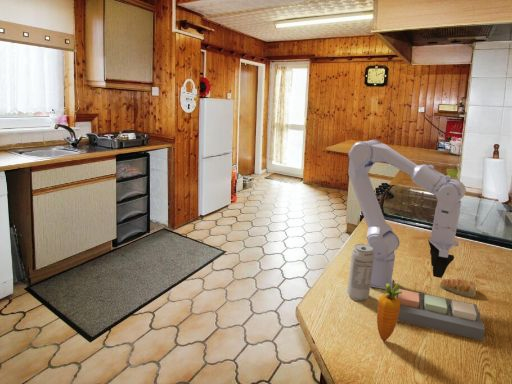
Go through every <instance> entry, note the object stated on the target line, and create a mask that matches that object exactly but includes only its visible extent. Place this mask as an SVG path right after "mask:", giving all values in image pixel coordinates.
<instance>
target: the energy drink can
mask: <svg viewBox="0 0 512 384" xmlns="http://www.w3.org/2000/svg"><path fill="white" fill-rule="evenodd" d="M373 261H374V253H373V248H372V247H371V246H369V245H368V244H364V243H357V244H355V245H354V247H353V249H352V250H351V255H350V265H349V273H348V283H347V290H346V291H347V294H348V295H349V296H348V297H349V298H350V299H352V300H355V301H360V302H361V301H366V300H367V298H369V295H370V290H371V286H370V284H371V276H372V269H373Z"/></svg>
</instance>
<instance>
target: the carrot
mask: <svg viewBox="0 0 512 384" xmlns="http://www.w3.org/2000/svg"><path fill="white" fill-rule="evenodd" d="M393 287H394V290H393V291H392V290H391V288H390V285H389V284H386V289H385V292H386V293H385V294H382V295H379V297H378V303H377V313H376V314H377V315H376V323H377V325H376V326H377V330H378V335H379V337H380V339H381V340H382V341H383V342H386V341H387V340H388V339H389V338H390V337H391V336H392V335H393V332H394V331H395V329H396V325H397V323H398V321H397V320H398V315H399V310H400V300H399V299H398V298H396V297H395V296H396V295H397V294H399V293H402V291H396V290H397V288H399V287H400V283H396V284H395V286H393Z"/></svg>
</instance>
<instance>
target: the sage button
mask: <svg viewBox="0 0 512 384" xmlns="http://www.w3.org/2000/svg"><path fill="white" fill-rule="evenodd" d="M424 294H425V296H424V301H423V309H424V310H428V311H433V312H437V313H442V314H446V312H447V304H446V299H445V298H446V297H443V298H440V297H441V296H438V297H435V296H436V295H433V296H431V295H432V294H428V295H426V294H427V293H424Z"/></svg>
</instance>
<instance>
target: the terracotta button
mask: <svg viewBox="0 0 512 384" xmlns="http://www.w3.org/2000/svg"><path fill="white" fill-rule="evenodd" d="M402 289H403V288H400V289H399V291H402V293H399V294H398V299H399V300H400V304H401V305H406V306H410V307H415V308H418V307H419V293H420V292H419V293H416V292H417V291H414V292H411V291H412V290H409V291H407V290H408V289H405V290H402Z"/></svg>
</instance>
